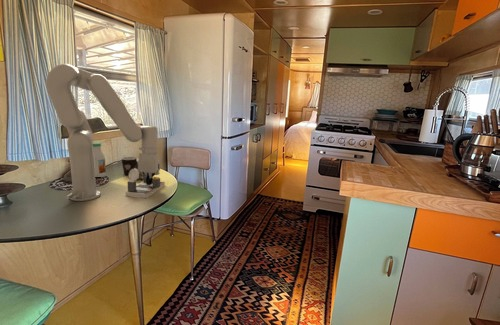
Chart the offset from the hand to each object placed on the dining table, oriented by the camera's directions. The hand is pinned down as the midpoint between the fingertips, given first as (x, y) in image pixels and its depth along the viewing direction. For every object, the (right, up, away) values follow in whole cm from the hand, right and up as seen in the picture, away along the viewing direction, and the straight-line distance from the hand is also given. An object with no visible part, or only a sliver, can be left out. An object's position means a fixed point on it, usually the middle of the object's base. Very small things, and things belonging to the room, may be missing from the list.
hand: (149, 184), depth 141 cm
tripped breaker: (+4, -1, 0) cm, 4 cm away
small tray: (-2, -3, +1) cm, 4 cm away
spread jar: (-12, +2, +19) cm, 22 cm away
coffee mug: (-21, +4, +27) cm, 34 cm away
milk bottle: (-37, +3, +19) cm, 42 cm away
